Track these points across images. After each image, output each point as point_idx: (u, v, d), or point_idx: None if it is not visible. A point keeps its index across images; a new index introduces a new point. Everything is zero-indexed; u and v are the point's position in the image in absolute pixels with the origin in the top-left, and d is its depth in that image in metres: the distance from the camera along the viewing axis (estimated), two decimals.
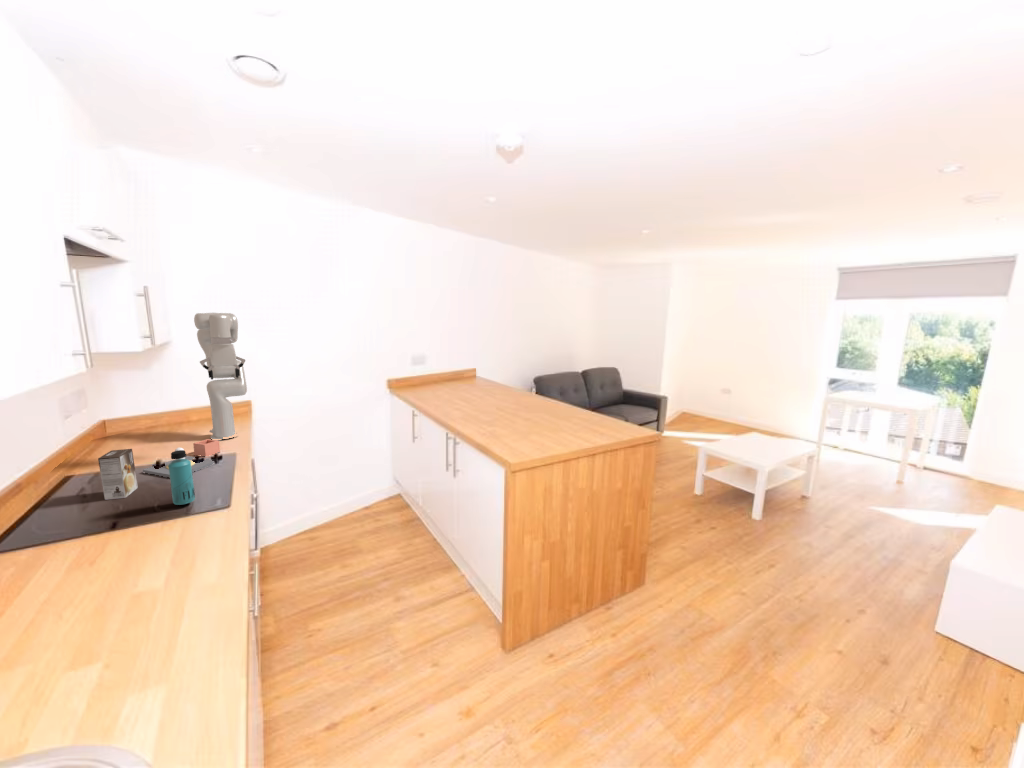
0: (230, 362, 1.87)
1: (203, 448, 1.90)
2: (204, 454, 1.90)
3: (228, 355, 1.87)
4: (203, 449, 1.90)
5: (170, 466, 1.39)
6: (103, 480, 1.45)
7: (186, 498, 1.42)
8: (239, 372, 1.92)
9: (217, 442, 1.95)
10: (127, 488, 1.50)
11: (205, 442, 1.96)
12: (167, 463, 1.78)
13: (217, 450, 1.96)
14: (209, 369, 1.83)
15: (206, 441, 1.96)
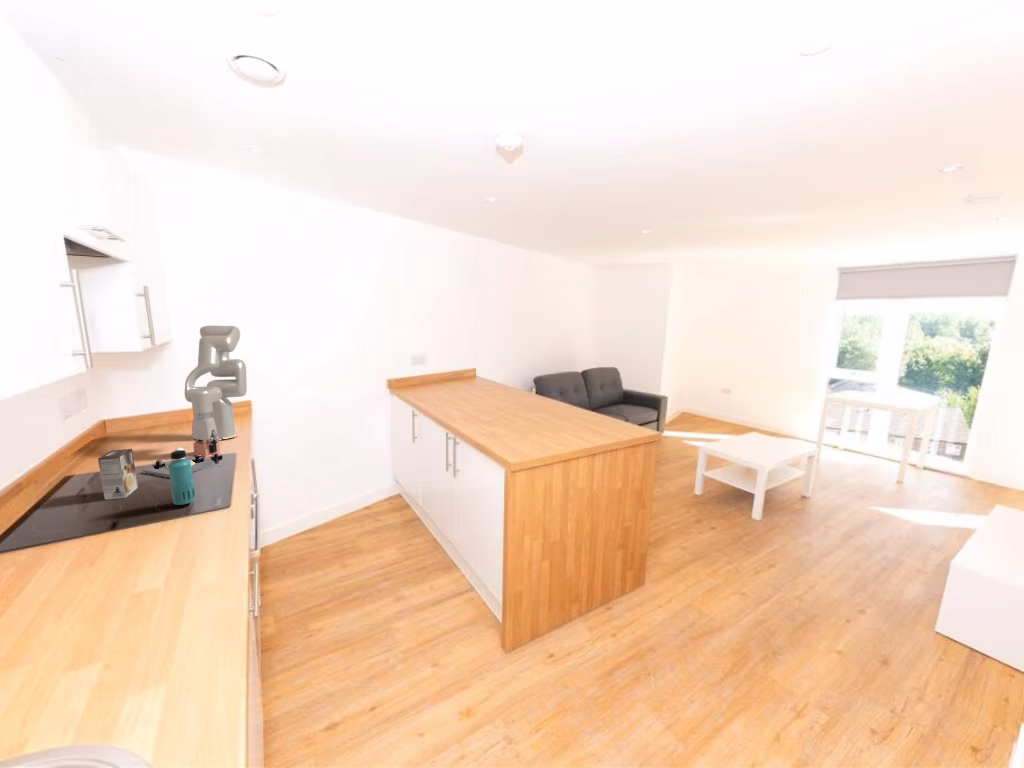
0: None
1: (203, 448, 1.90)
2: (204, 454, 1.90)
3: None
4: (203, 449, 1.90)
5: (170, 466, 1.39)
6: (103, 480, 1.45)
7: (186, 498, 1.42)
8: None
9: (217, 442, 1.95)
10: (127, 488, 1.50)
11: (205, 442, 1.96)
12: (167, 463, 1.78)
13: (217, 450, 1.96)
14: None
15: (206, 441, 1.96)
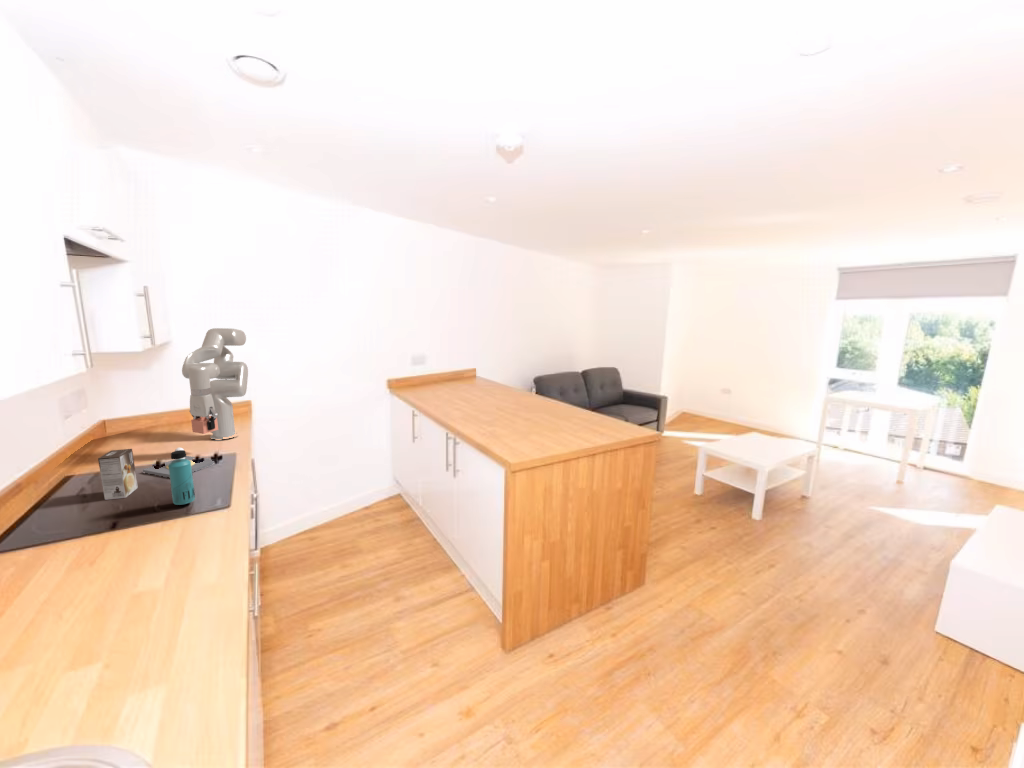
0: None
1: (201, 425, 1.89)
2: (202, 431, 1.89)
3: None
4: (201, 426, 1.89)
5: (170, 466, 1.39)
6: (103, 480, 1.45)
7: (186, 498, 1.42)
8: None
9: (215, 419, 1.94)
10: (127, 488, 1.50)
11: (203, 419, 1.94)
12: (167, 463, 1.78)
13: (215, 427, 1.94)
14: None
15: (204, 418, 1.95)
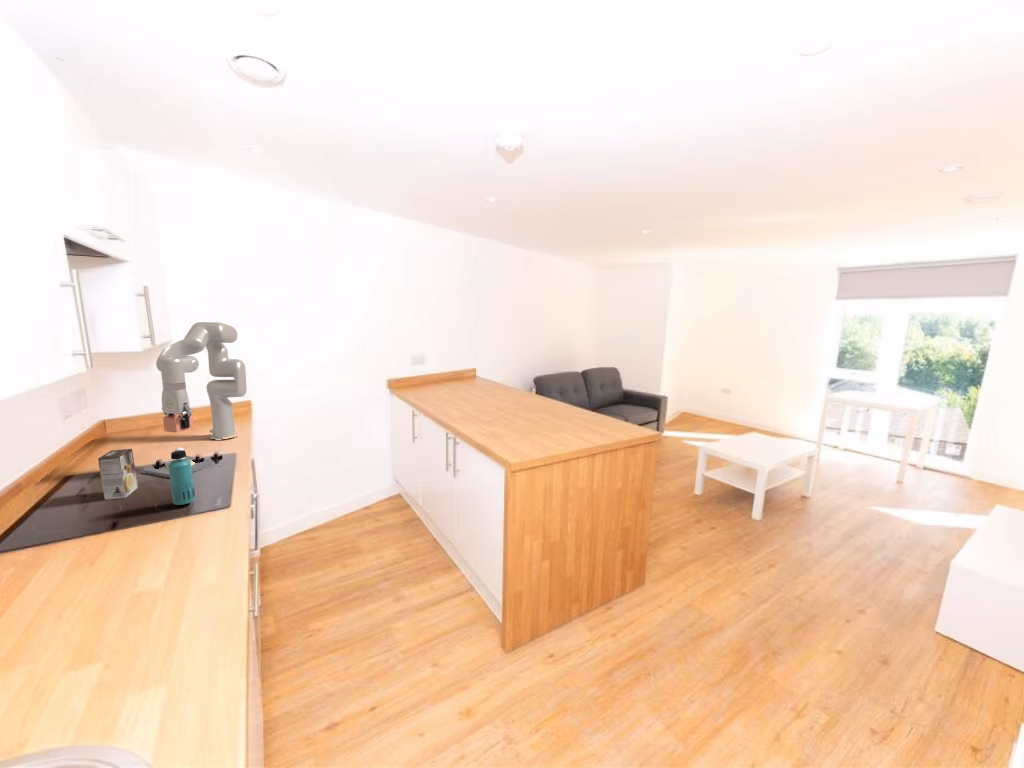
0: None
1: (174, 423, 1.70)
2: (175, 429, 1.71)
3: None
4: (174, 424, 1.71)
5: (170, 466, 1.39)
6: (103, 480, 1.45)
7: (186, 498, 1.42)
8: None
9: (190, 417, 1.76)
10: (127, 488, 1.50)
11: (177, 417, 1.76)
12: (167, 463, 1.78)
13: (190, 425, 1.76)
14: None
15: (178, 416, 1.77)
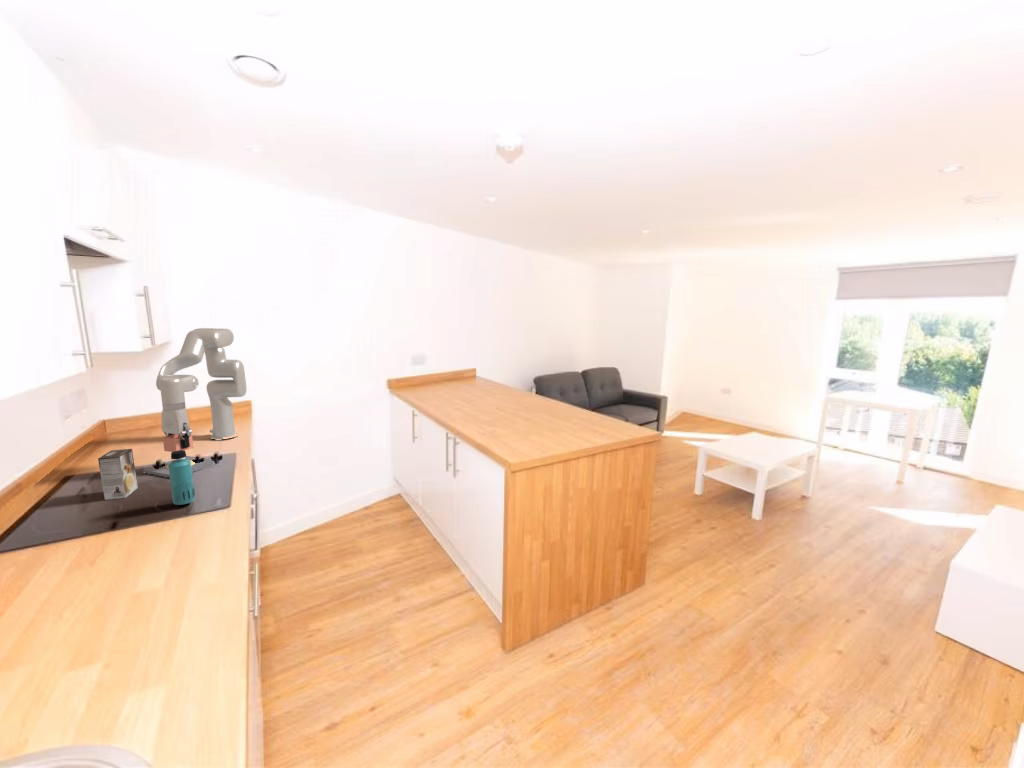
0: None
1: (173, 443, 1.70)
2: (175, 449, 1.71)
3: None
4: (173, 444, 1.71)
5: (170, 466, 1.39)
6: (103, 480, 1.45)
7: (186, 498, 1.42)
8: None
9: (190, 436, 1.76)
10: (127, 488, 1.50)
11: (177, 436, 1.76)
12: (167, 463, 1.78)
13: (190, 445, 1.76)
14: None
15: (178, 435, 1.77)
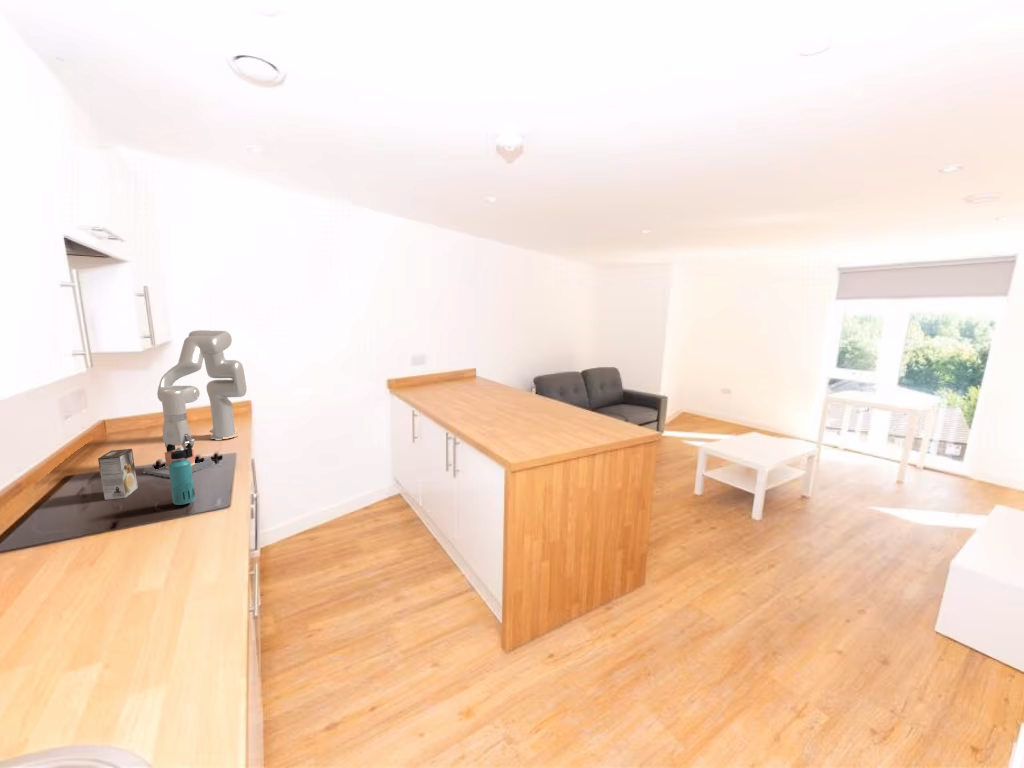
0: None
1: None
2: None
3: None
4: (175, 459, 1.72)
5: (170, 466, 1.39)
6: (103, 480, 1.45)
7: (186, 498, 1.42)
8: None
9: None
10: (127, 488, 1.50)
11: None
12: None
13: (191, 460, 1.77)
14: None
15: None
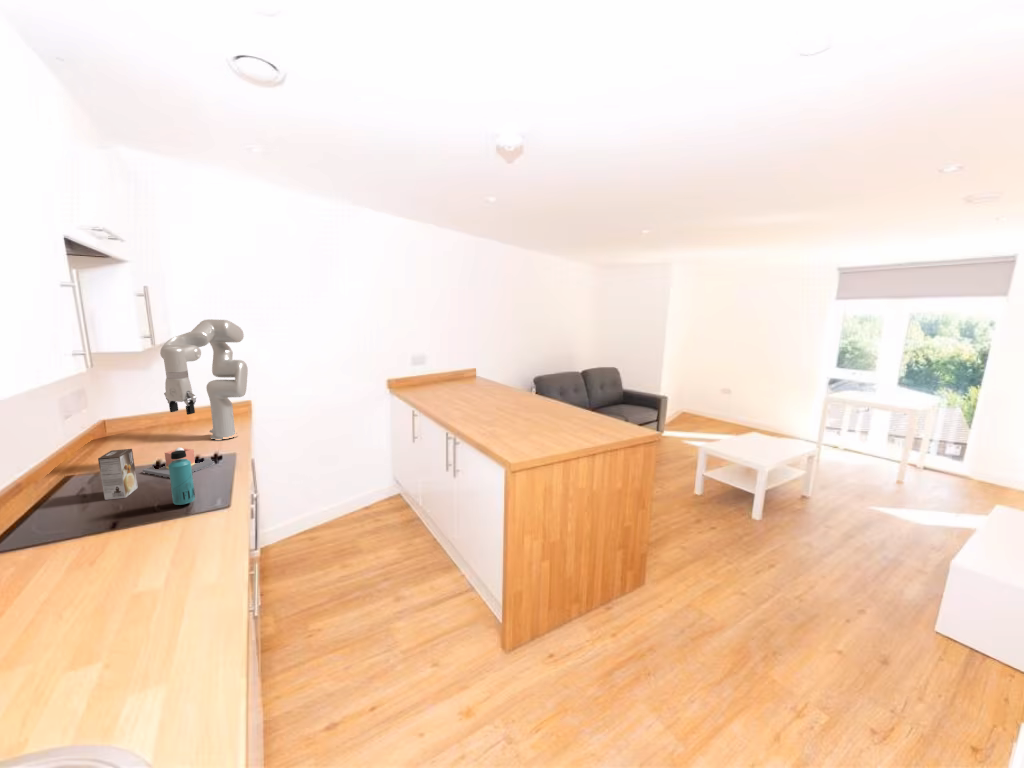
0: None
1: None
2: None
3: None
4: (175, 459, 1.72)
5: (170, 466, 1.39)
6: (103, 480, 1.45)
7: (186, 498, 1.42)
8: None
9: (191, 451, 1.77)
10: (127, 488, 1.50)
11: None
12: None
13: (191, 460, 1.77)
14: None
15: None
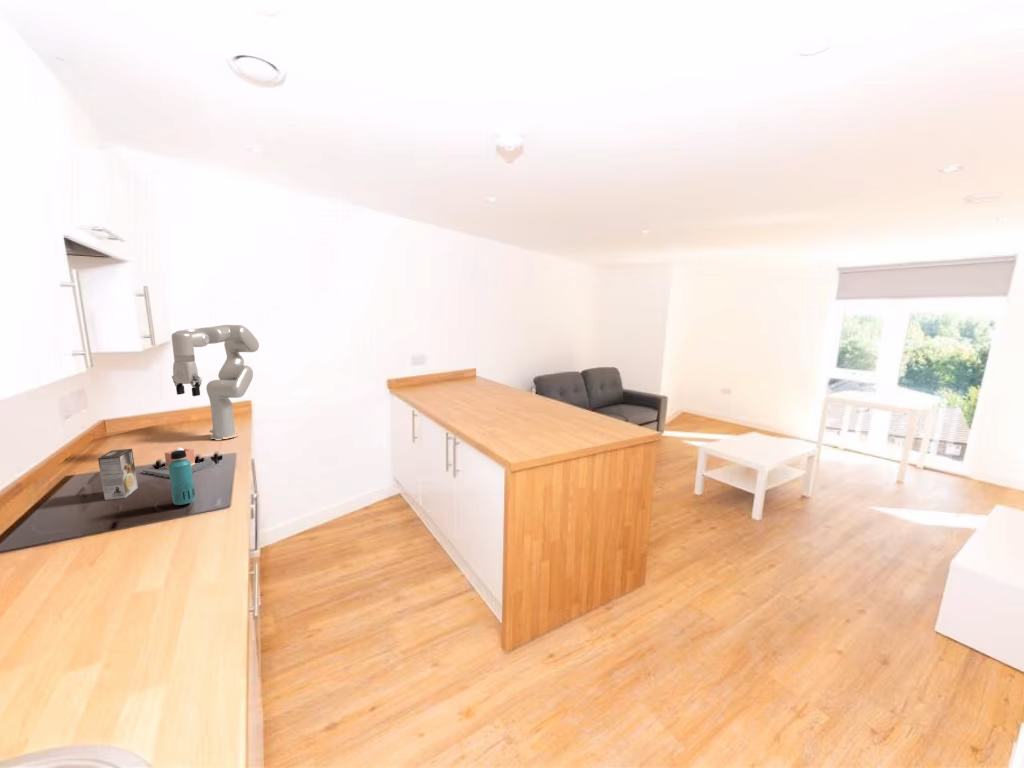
0: None
1: None
2: None
3: None
4: (175, 459, 1.72)
5: (170, 466, 1.39)
6: (103, 480, 1.45)
7: (186, 498, 1.42)
8: None
9: (191, 451, 1.77)
10: (127, 488, 1.50)
11: None
12: None
13: (191, 460, 1.77)
14: None
15: None
